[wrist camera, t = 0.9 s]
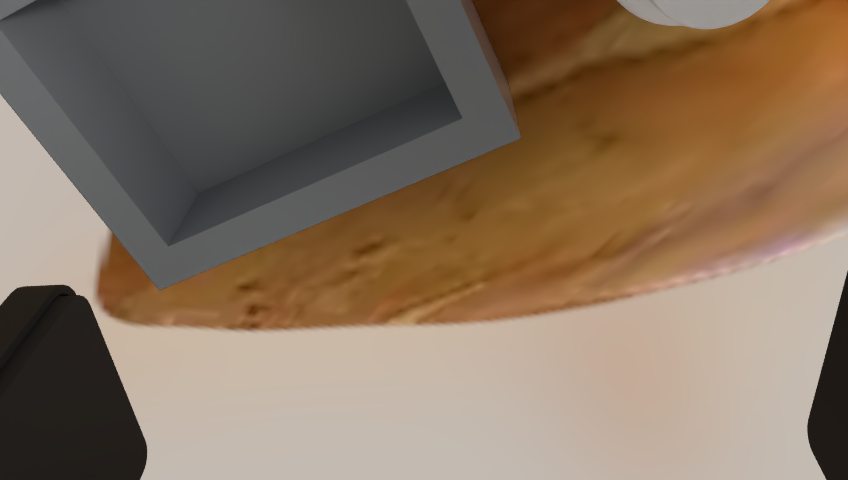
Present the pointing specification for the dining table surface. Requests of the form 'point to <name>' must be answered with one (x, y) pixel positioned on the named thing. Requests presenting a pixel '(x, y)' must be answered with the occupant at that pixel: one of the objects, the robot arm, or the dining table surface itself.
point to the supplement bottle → (693, 11)
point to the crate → (248, 111)
